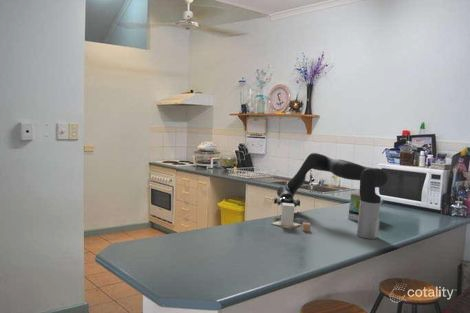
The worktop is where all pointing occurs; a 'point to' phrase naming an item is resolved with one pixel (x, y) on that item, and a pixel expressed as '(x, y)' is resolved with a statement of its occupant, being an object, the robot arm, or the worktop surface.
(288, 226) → the cork mat
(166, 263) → the worktop surface
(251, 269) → the worktop surface
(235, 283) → the worktop surface
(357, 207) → the tea box
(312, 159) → the robot arm
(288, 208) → the white rectangular block
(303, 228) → the block
